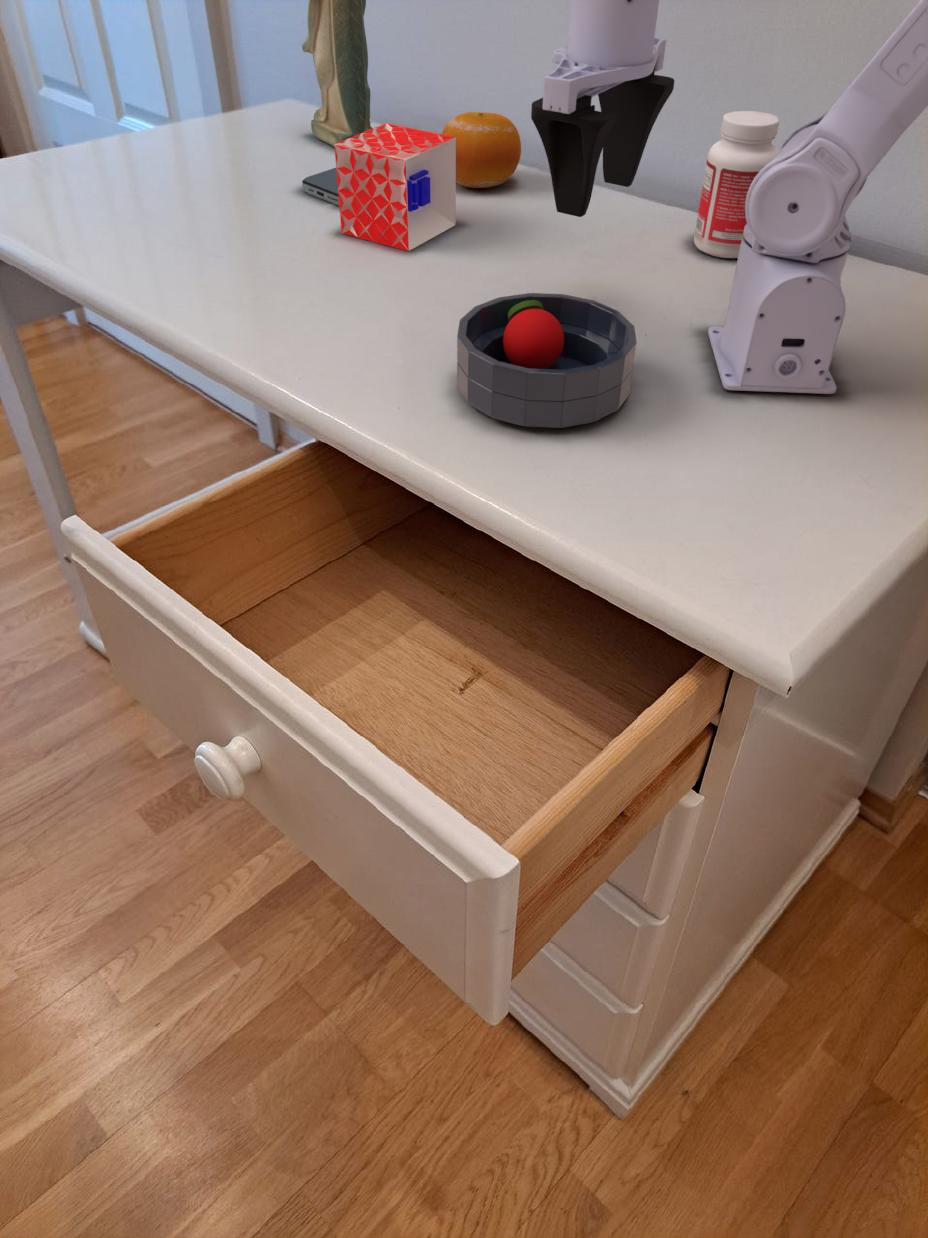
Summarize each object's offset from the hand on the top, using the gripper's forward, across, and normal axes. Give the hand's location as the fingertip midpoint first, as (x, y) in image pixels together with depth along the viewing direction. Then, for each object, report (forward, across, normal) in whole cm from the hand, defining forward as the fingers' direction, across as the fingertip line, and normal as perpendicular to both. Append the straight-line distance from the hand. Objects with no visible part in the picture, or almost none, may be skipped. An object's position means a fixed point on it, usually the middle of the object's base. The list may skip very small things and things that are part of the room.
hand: (595, 197), depth 69 cm
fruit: (+10, -23, -25) cm, 35 cm away
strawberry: (+8, +12, +3) cm, 14 cm away
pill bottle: (+10, -21, +4) cm, 23 cm away
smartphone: (+10, -17, -34) cm, 39 cm away
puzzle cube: (+10, -7, -24) cm, 27 cm away
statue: (+10, -27, -46) cm, 54 cm away
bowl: (+9, +12, +3) cm, 16 cm away
